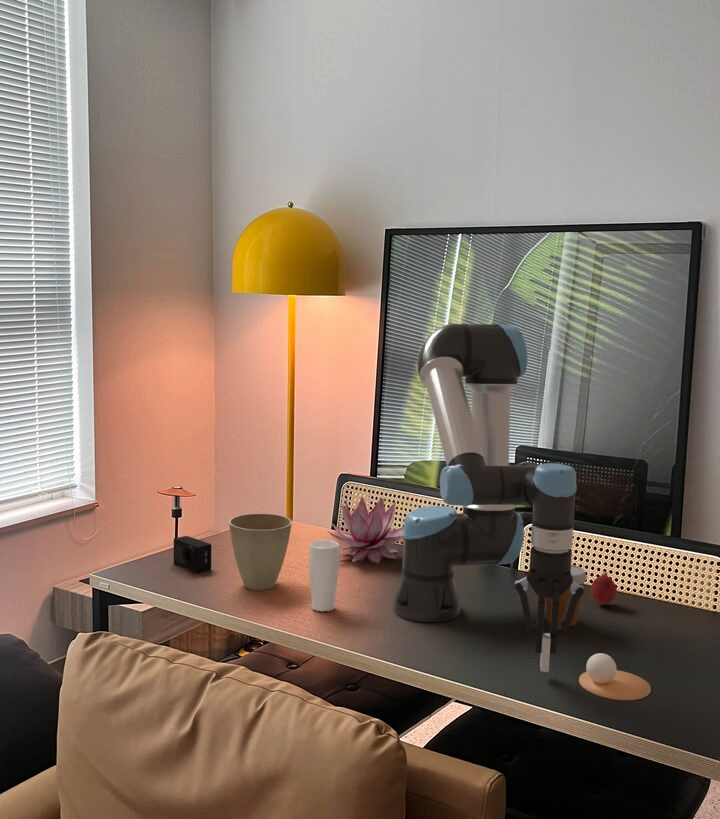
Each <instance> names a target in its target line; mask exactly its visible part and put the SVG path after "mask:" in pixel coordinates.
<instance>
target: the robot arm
mask: <svg viewBox="0 0 720 819" xmlns="http://www.w3.org/2000/svg"><path fill="white" fill-rule="evenodd" d="M419 350H420V351H419V353H418V357H417V358H418V359H417V363H416V364H417V373H418V378H419V381H420V383H421V384H422V386H424V387H425V388H426V389H427V393H428V398H429V401H430V404H431V409H432V413H433V417H434V419H435V424H436V428H437V432H438V435H439V440H440V443H441V444H440V445H441V448H442V452H443V455H444V459H445V463H446V466H445V467H443V468H442V469H441V472H440V474H439V487H440V488H439V493H440V496H441V499H442V501H443V502H444V503H445V504H446V505H428V506H423V507H418V508H416V509H414V510H413V509H412V510H411V511H410V512H408V513H407V514H406V516H405V517H404V522H403V527H404V529H403V533H402V535H401V536H403V539H402V563H401V564H402V566H401V567H402V569H401V577H400V581H399V583H398V586H397V587H396V588H397V589H396V591H395V594H394V596H393V599H392V600H393V601H392V604H393V606H392V609H393V612H394V613H395V614H396V615H397V616H399V617H401V618H403V619H407V620H410V621H415V622H421V623H422V622H423V623H440V622H446V621H451V620H453V619H455V618H457V617H459V615H460V614H461V601H460V597H459V593H458V590H457V586H456V582H455V578H454V577H455V576H454V575H455V567H457V566H458V567H460V566H489V565H491V566H493V567H494V566H498V565H508V564H511V563H514V562H515V561H516V559H517V558H518V557H519V555H520V554H521V551H522V549H523V544H524V538H525V528H524V527H525V526H524V521H523V517H522V516H521V514H520V513H519V512H516V511H515V510H516V506H515V505H529V506H531V507H532V517H531V518H532V519H531V537H530V543H531V547H530V553H529V554H530V555H529V569H528V571H527V573H526V576H525V577H523V578H521V579H516V580H514V588H515V590H516V592H517V593H518V595H519V597H520V598H519V599H520V602H521V608H522V613H523V618H524V623H525V628H526V632H527V633H528V634H533V635H534V636H535V644H534V645H535V646H534V648H535V650H534V651H535V653H537V654H538V653H540V663H539V667H540V672H542V673H544V672H545V673H549V671H550V655H555V654H556V653H557V642H558V641H557V640H558V638H559V637H562V636H563V637H564V636H565V637H566V636H567V635H568V632H569V629H570V627H571V626H570V623H571V620H572V617H573V614H574V611H575V608H576V605H577V602H578V600H579V598H580V597H581V596H583V595H584V593H585V589H584V586H583V585H581V584H577V583H576V582H575V581H573V577H572V575H571V565H572V560H573V559H572V557H573V552H572V550H571V549H572V548H573V541H574V540H573V535H574V521H575V520H574V518H575V507H576V505H575V504H576V493H577V489H578V488H577V487H578V486H577V472H576V469H575V468H574V467H573V466H570V465H568V464H567V465H566V464H564V463H556V462H555V463H554V462H552V463H548V462H547V463H540V464H539V463H536V462H531V461H522V462H518V463H516V464H515V465H510V426H511V425H510V424H511V423H510V420H511V417H510V416H511V392H512V391H513V390H514V389H515V388H516V387H517V386H518V378H521V377H523V376H524V375H525V374H526V371H527V367H528V363H529V362H528V350H527V344H526V341H525V337H524V335H523V334H522V332H521V330H519V329H518V327H516V326H514V325H510V324H509V325H508V324H498V323H494V324H493V323H492V324H491V323H489V324H487V323H484V324H482V323H481V324H480V323H479V324H478V323H449V324H445V325H443V326H441V327H439V328H436V329H435V330H434V331H432V333H431V334H429V336H428V337H427V338H426V340H425V341H424V342H423V344H422V345H421V348H420V349H419ZM463 377H464V383H463V381H462V378H463ZM464 384H465V386H466V387H467V388H468V389H469V390H470V392H471V406H470V404H469V400H468V397H467V395H466V391H465V387H464ZM470 407H471V408H470ZM448 505H450V506H448ZM451 506H462V513H458V512H457V510H456V509H455V508H454V507H451ZM528 584H529V585H530V587H531V588H532V590H533V591H534V592H535V594H536V595H537V607H536V624H534V622H533V617H532V614H531V608H530V603H529V598H528V593H527V590H528V589H529V586H528ZM570 586H571V588H570V592H571V595H570V598H569V601H568V604H567V607H566V610H565V613H564V616H563V619H562V623H561V626H558V611H559V597H560V596H562V595H563V593H564V592H565V591H566V590H567V589H568V588H569V587H570ZM546 597H551V598H552V603H551V621H550V623H549V625H550V627H549V632H547V633H546V632H544V626H545V624H544V621H545V609H546V608H545V606H546ZM581 598H582V597H581ZM569 626H570V627H569Z"/></svg>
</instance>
